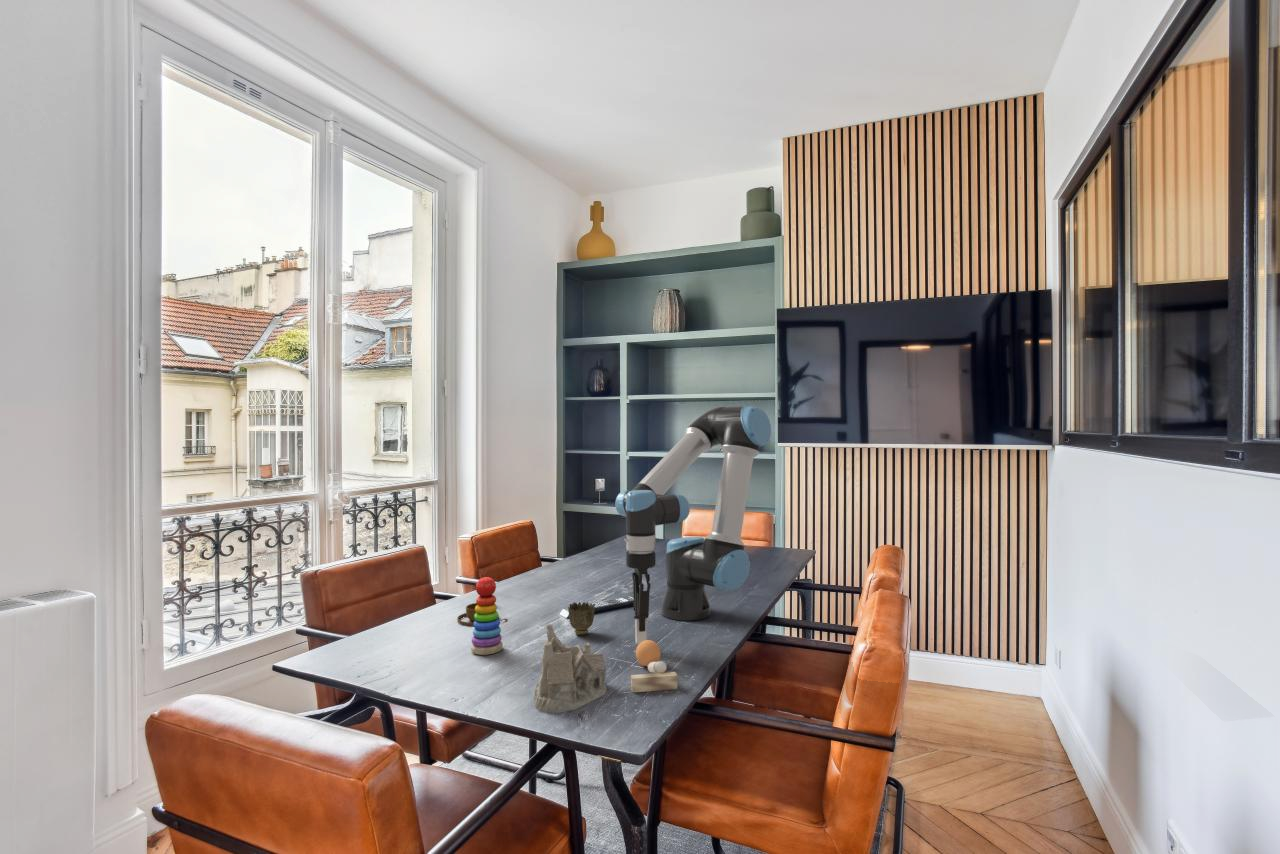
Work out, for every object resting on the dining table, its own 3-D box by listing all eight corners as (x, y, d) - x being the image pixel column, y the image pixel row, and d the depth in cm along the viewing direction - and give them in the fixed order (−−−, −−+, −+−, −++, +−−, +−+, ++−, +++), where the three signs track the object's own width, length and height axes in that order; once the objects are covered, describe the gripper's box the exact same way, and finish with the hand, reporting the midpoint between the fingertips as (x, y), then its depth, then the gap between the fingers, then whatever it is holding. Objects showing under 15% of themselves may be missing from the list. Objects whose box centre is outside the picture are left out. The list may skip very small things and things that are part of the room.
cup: (590, 639, 170) (590, 609, 170) (564, 637, 172) (564, 608, 172) (598, 630, 177) (598, 602, 177) (572, 629, 179) (572, 600, 179)
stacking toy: (508, 647, 165) (508, 575, 165) (491, 657, 157) (491, 582, 157) (482, 643, 167) (482, 573, 167) (464, 654, 160) (464, 580, 160)
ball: (664, 665, 148) (658, 666, 154) (662, 638, 151) (656, 640, 156) (639, 667, 147) (634, 667, 153) (637, 640, 149) (632, 641, 155)
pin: (657, 661, 148) (666, 660, 141) (658, 672, 148) (666, 672, 140) (647, 661, 148) (655, 661, 140) (647, 673, 147) (655, 673, 139)
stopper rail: (675, 685, 140) (675, 671, 140) (677, 688, 138) (677, 675, 138) (630, 688, 138) (630, 675, 138) (632, 692, 137) (632, 678, 137)
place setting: (440, 623, 186) (440, 603, 186) (484, 606, 204) (484, 587, 204) (488, 632, 179) (487, 611, 179) (529, 612, 197) (529, 594, 197)
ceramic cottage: (528, 712, 127) (533, 637, 127) (538, 682, 143) (542, 616, 144) (605, 716, 127) (610, 641, 128) (607, 686, 144) (611, 619, 144)
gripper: (622, 546, 168) (622, 635, 168) (630, 556, 155) (630, 652, 155) (650, 545, 169) (650, 633, 169) (660, 555, 156) (660, 650, 157)
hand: (641, 642), depth 162 cm, fingers closed
